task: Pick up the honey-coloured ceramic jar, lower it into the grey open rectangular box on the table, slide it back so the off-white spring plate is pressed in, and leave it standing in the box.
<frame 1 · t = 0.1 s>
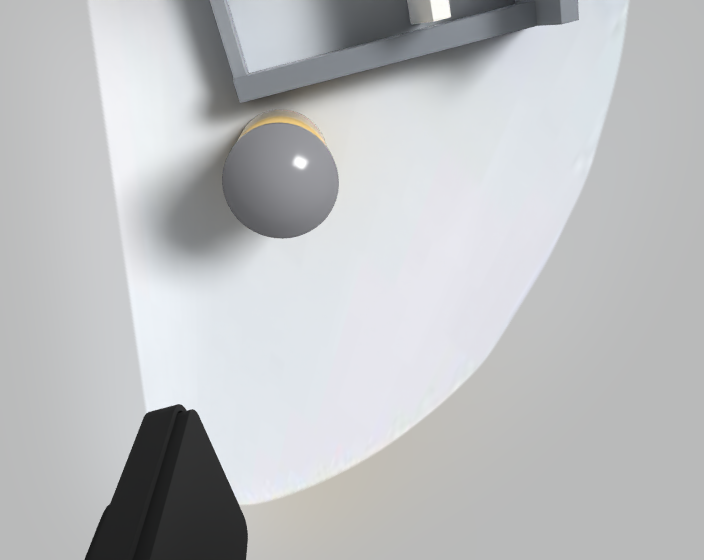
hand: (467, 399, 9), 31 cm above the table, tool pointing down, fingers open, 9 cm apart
honey jar: (282, 156, 38), on the table
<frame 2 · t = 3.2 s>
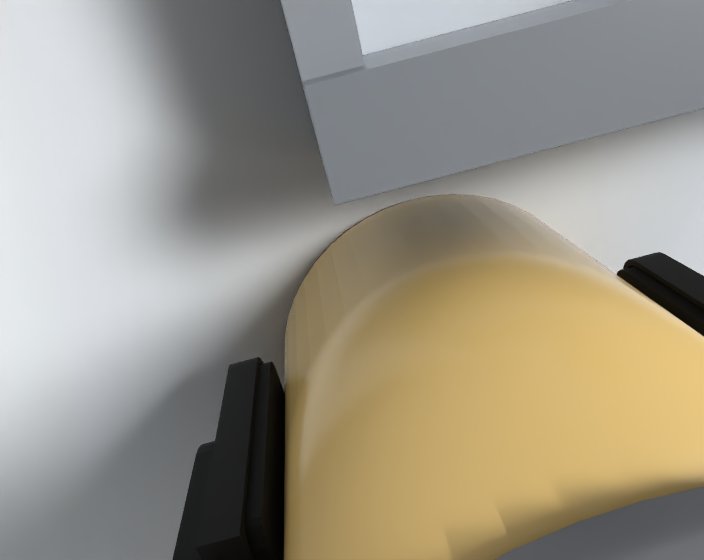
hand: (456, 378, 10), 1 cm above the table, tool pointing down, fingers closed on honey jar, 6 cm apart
honey jar: (438, 343, 11), on the table, touching gripper
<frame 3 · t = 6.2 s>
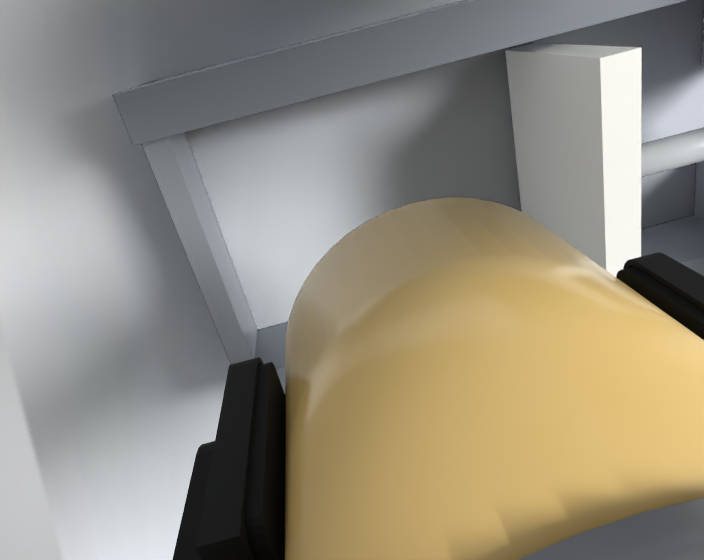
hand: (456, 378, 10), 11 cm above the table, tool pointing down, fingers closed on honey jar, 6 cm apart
honey jar: (439, 346, 11), point 10 cm above the table, touching gripper
pusher: (678, 148, 17), point 3 cm above the table, slide at 0.0 cm
grey open rectangular box: (447, 176, 20), on the table
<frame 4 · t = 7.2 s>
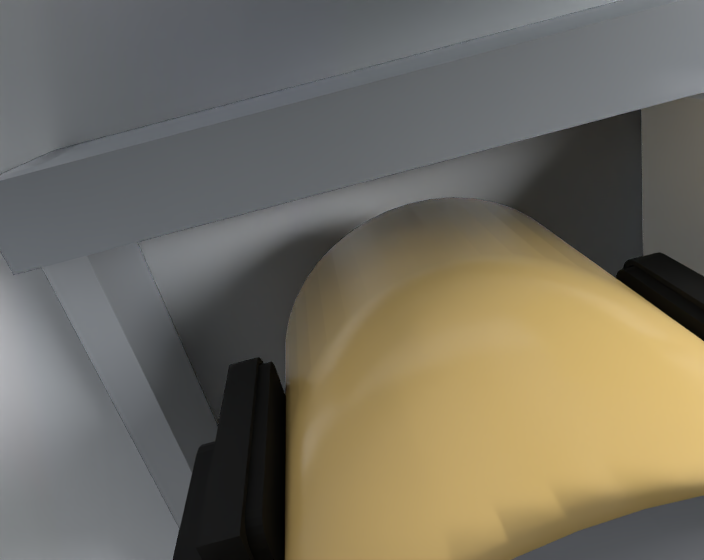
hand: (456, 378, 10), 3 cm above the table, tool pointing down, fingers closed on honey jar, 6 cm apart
honey jar: (439, 346, 11), point 2 cm above the table, touching gripper
grey open rectangular box: (535, 277, 13), on the table
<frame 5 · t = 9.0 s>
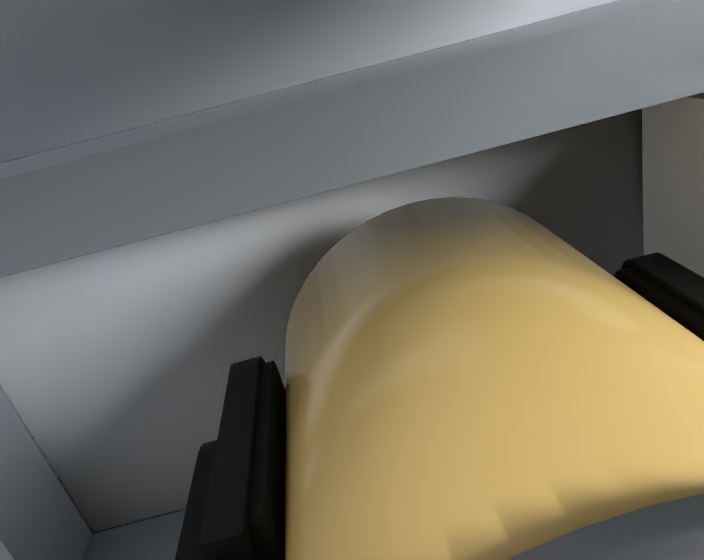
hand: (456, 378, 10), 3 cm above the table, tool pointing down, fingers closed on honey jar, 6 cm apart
honey jar: (439, 346, 11), point 2 cm above the table, touching gripper
grey open rectangular box: (362, 323, 13), on the table
when the fingers open (3 cm above the table, at t = 9.3 s): honey jar drops 2 cm, resting in grey open rectangular box.
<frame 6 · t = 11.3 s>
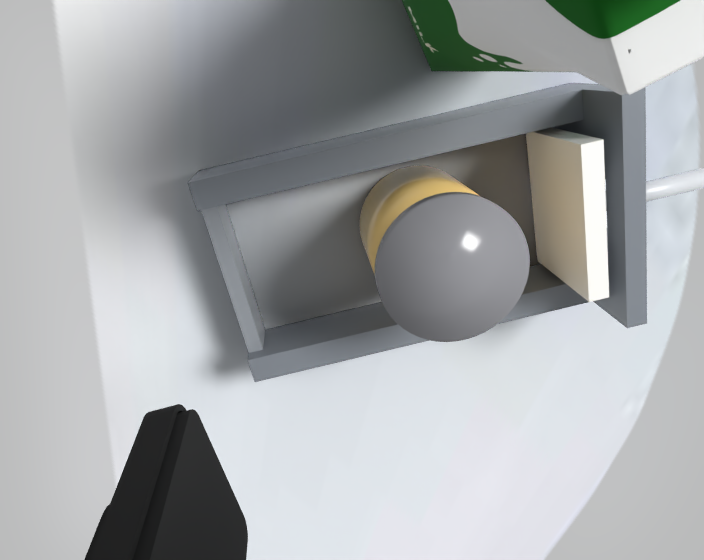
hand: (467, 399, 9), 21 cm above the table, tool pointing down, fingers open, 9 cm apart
honey jar: (415, 222, 30), resting in grey open rectangular box
pusher: (633, 193, 27), point 3 cm above the table, slide at 5.4 cm
grey open rectangular box: (394, 229, 30), on the table
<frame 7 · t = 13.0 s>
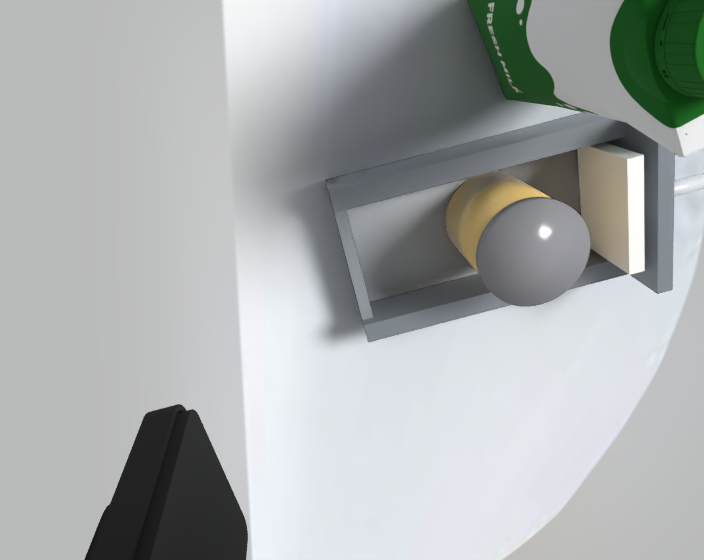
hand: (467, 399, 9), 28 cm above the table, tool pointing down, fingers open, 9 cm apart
milk carton: (536, 19, 34), on the table
honey jar: (489, 215, 39), resting in grey open rectangular box
pusher: (661, 190, 36), point 3 cm above the table, slide at 5.4 cm
grey open rectangular box: (472, 221, 39), on the table
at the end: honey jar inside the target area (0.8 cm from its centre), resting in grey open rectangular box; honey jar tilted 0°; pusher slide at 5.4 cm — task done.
